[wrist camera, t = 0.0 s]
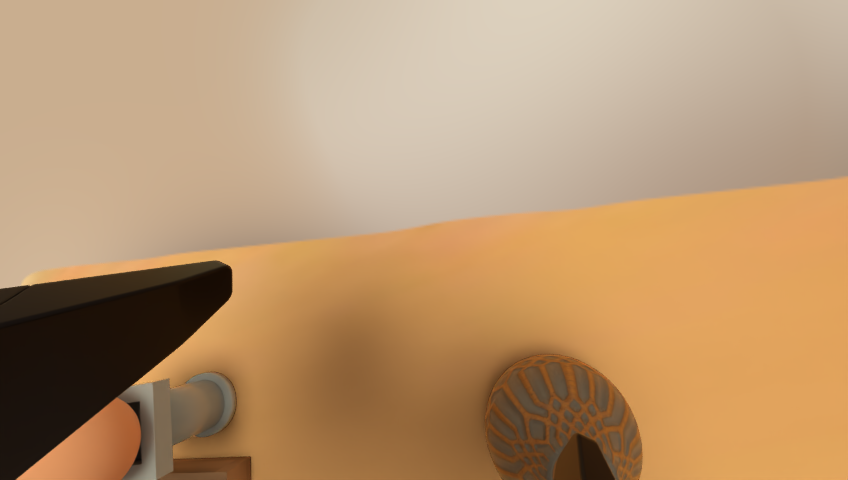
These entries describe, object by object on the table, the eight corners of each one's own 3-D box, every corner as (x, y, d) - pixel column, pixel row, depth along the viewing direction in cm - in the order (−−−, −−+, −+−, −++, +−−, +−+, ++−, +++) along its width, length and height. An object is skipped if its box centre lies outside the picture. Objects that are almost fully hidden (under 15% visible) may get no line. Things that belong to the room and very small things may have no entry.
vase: (484, 464, 22) (479, 570, 13) (488, 342, 23) (485, 367, 14) (611, 482, 20) (698, 613, 12) (609, 352, 21) (687, 386, 13)
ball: (165, 484, 19) (48, 549, 14) (82, 486, 19) (-56, 547, 14) (167, 379, 19) (60, 405, 15) (88, 385, 20) (-40, 412, 15)
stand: (243, 433, 24) (156, 479, 18) (182, 443, 25) (78, 490, 19) (237, 362, 25) (152, 382, 19) (178, 372, 26) (78, 395, 20)
